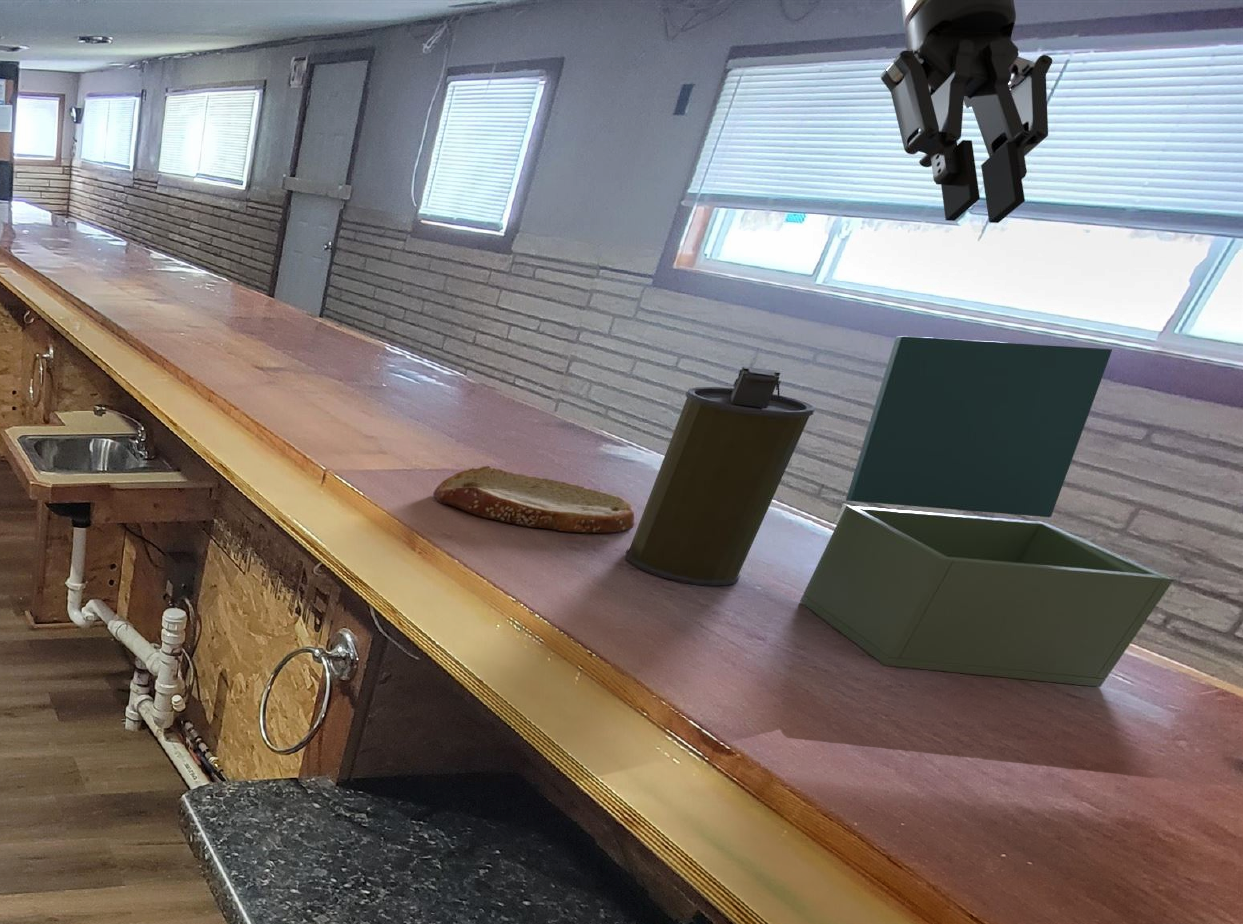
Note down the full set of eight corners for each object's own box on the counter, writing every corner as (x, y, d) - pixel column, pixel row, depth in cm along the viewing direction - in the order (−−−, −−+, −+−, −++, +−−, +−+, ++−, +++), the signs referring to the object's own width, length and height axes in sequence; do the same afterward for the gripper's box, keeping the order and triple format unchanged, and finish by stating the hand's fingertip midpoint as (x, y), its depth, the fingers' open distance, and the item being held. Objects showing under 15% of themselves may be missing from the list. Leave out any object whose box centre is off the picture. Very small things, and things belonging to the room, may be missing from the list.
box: (1100, 687, 81) (1175, 579, 76) (884, 665, 83) (943, 559, 78) (986, 619, 93) (1044, 521, 88) (799, 601, 95) (845, 505, 90)
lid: (1113, 349, 83) (1067, 352, 88) (902, 335, 85) (867, 340, 90) (1051, 517, 87) (1010, 513, 92) (850, 500, 89) (820, 497, 94)
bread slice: (649, 528, 112) (661, 497, 110) (534, 545, 106) (545, 512, 104) (525, 482, 126) (534, 453, 124) (417, 494, 120) (425, 464, 118)
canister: (740, 595, 96) (834, 388, 86) (622, 570, 100) (697, 371, 90) (736, 561, 104) (821, 369, 94) (627, 540, 108) (697, 354, 98)
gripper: (1012, 48, 97) (1043, 245, 91) (838, 43, 99) (857, 235, 93) (1086, -25, 90) (1125, 183, 84) (896, -29, 92) (921, 174, 86)
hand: (984, 210), depth 88 cm, fingers open, 3 cm apart
